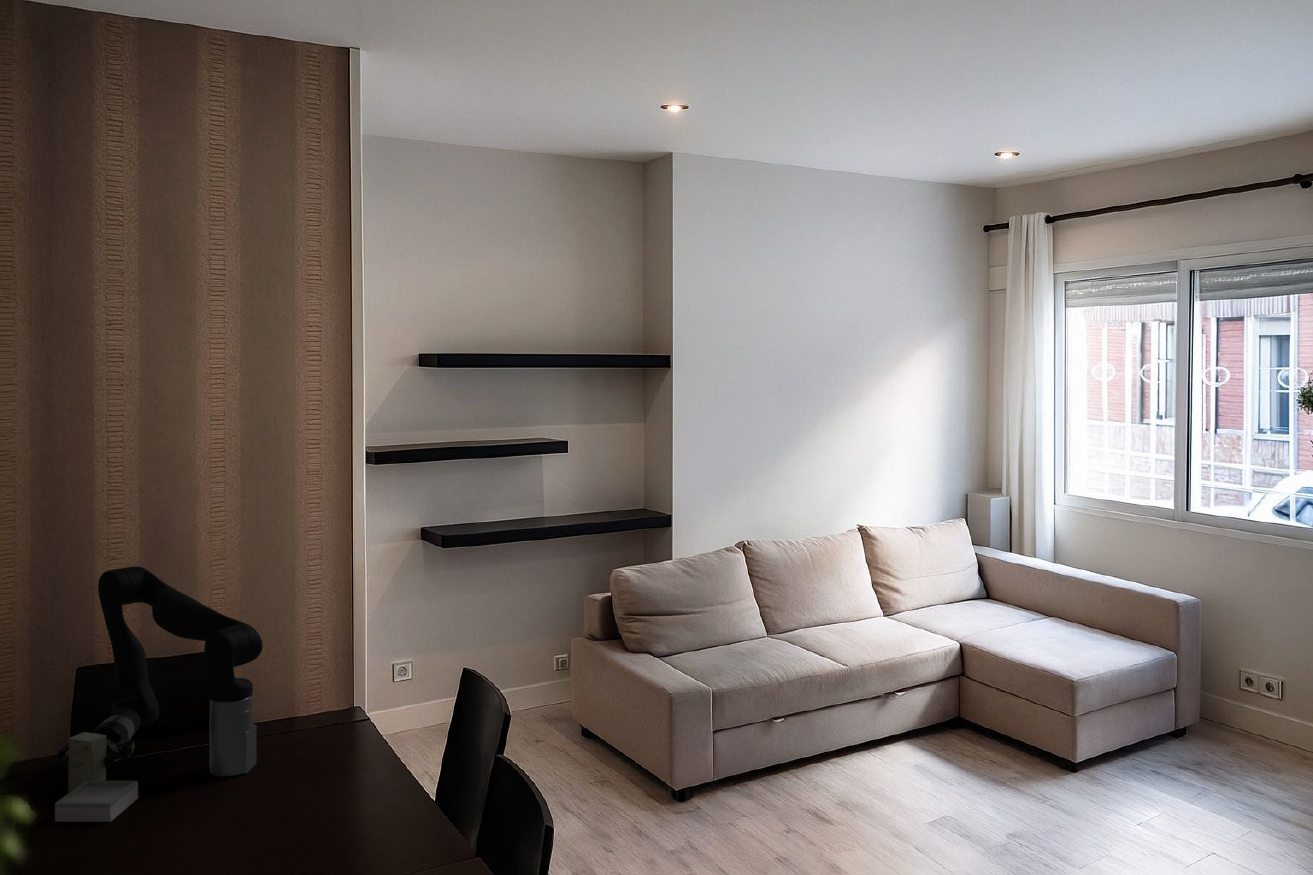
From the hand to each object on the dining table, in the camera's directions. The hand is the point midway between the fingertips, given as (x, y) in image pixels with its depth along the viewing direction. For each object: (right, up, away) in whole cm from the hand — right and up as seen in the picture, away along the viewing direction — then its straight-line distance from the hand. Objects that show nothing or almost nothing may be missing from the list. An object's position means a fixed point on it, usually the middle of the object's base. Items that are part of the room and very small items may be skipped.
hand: (84, 763), depth 204 cm
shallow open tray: (+7, -7, -7) cm, 12 cm away
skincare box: (0, -7, +2) cm, 7 cm away
